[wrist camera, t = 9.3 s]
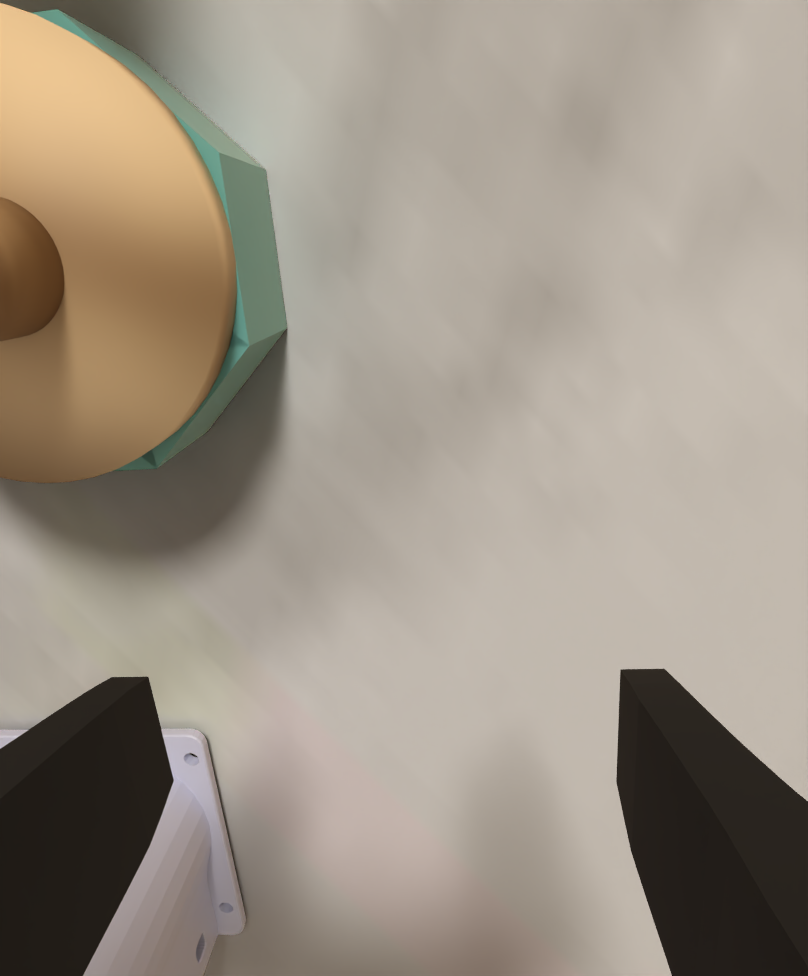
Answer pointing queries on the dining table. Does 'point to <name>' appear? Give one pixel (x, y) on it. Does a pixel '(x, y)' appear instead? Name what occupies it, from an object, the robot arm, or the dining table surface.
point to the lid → (100, 260)
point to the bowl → (251, 238)
